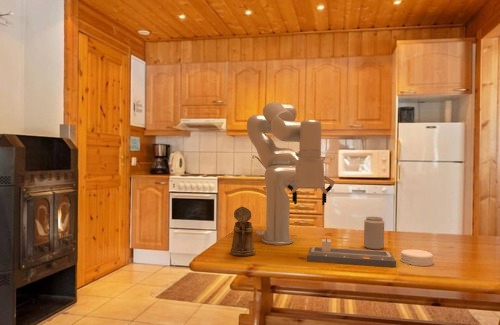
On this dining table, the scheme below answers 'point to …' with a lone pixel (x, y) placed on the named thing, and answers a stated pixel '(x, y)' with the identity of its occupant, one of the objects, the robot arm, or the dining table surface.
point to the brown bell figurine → (242, 234)
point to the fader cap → (326, 245)
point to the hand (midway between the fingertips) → (309, 204)
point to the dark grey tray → (352, 257)
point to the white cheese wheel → (417, 257)
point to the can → (374, 233)
